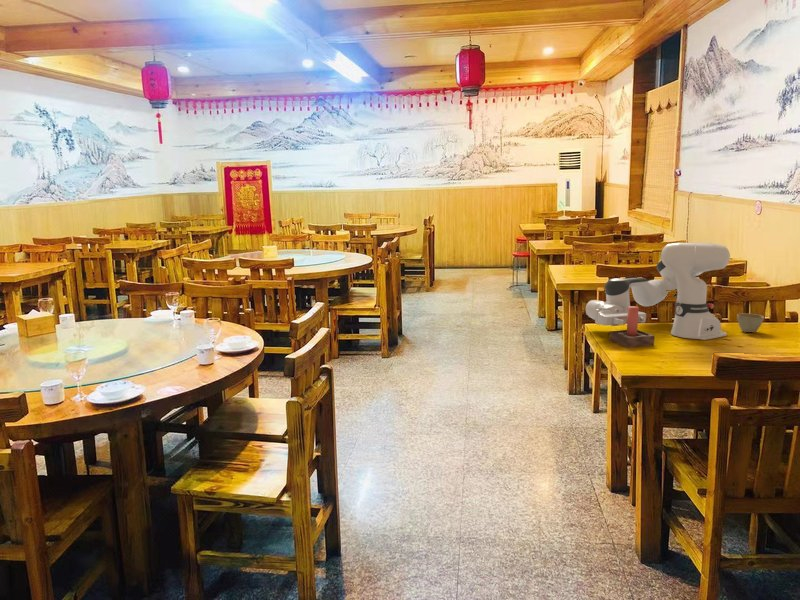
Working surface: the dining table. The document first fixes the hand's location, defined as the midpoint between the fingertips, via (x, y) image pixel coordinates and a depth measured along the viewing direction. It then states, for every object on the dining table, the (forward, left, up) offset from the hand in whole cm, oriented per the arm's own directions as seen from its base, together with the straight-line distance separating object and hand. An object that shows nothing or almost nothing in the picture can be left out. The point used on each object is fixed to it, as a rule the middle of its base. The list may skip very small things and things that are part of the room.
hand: (634, 321), depth 252 cm
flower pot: (-59, 0, -9) cm, 60 cm away
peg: (0, -1, -8) cm, 8 cm away
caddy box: (0, -1, -9) cm, 9 cm away
